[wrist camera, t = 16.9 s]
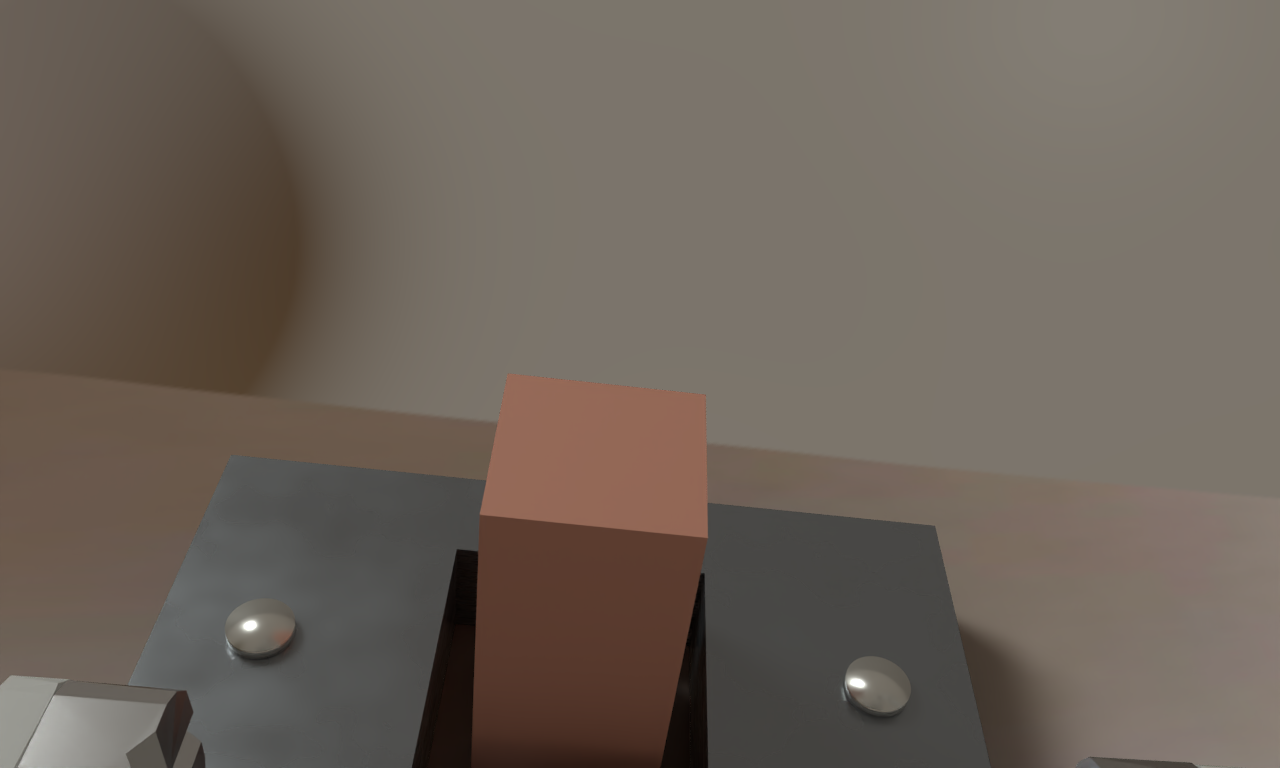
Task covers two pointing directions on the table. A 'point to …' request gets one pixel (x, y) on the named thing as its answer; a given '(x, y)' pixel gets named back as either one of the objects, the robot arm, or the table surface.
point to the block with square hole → (447, 594)
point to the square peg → (586, 573)
